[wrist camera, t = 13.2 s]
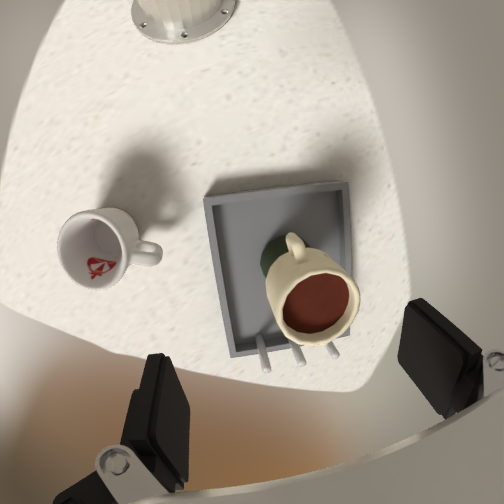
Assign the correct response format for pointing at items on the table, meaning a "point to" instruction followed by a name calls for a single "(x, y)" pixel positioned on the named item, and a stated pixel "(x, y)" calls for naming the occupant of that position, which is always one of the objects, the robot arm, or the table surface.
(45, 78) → the table surface
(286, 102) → the table surface
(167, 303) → the table surface
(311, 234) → the dish rack
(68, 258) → the cup
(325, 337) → the character mug
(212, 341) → the table surface
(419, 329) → the robot arm
